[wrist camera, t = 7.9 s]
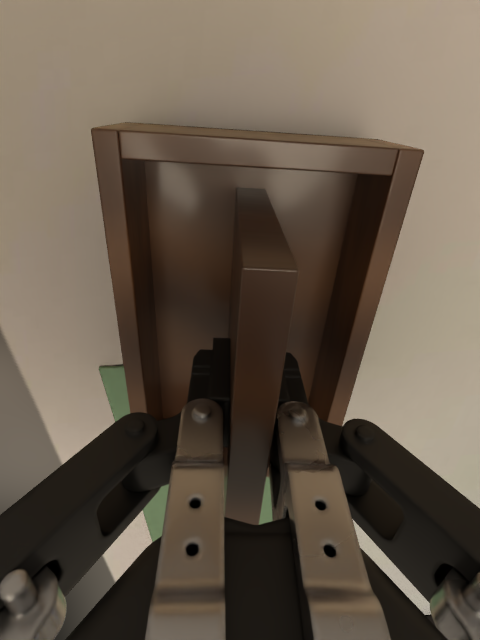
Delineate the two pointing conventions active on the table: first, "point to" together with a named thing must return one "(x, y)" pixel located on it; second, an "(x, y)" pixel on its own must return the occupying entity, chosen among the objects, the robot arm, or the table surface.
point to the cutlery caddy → (247, 268)
